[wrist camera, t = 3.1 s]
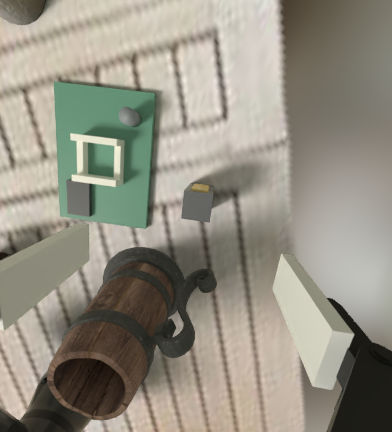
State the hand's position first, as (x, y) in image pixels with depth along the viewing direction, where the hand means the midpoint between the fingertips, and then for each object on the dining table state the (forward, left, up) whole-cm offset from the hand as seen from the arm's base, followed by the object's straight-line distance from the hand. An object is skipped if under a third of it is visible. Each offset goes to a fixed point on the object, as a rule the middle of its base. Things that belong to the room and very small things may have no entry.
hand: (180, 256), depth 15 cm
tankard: (-18, +6, -24) cm, 31 cm away
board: (+4, +17, -24) cm, 30 cm away
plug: (0, 0, -24) cm, 24 cm away
